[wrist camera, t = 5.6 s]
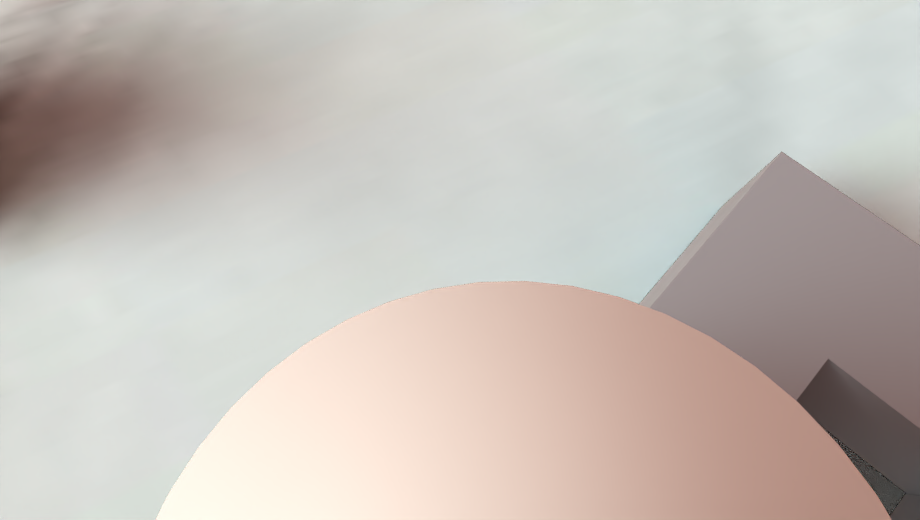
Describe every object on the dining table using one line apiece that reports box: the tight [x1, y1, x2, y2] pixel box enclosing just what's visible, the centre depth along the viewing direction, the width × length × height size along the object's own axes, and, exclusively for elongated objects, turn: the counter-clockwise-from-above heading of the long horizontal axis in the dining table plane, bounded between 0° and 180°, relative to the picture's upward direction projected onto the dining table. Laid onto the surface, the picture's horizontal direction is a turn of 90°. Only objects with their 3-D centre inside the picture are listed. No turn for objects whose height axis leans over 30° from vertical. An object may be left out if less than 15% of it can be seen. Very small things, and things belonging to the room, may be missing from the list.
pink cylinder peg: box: [156, 281, 892, 520], centre depth 9 cm, size 4×4×12 cm
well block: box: [639, 152, 920, 520], centre depth 17 cm, size 16×16×5 cm
